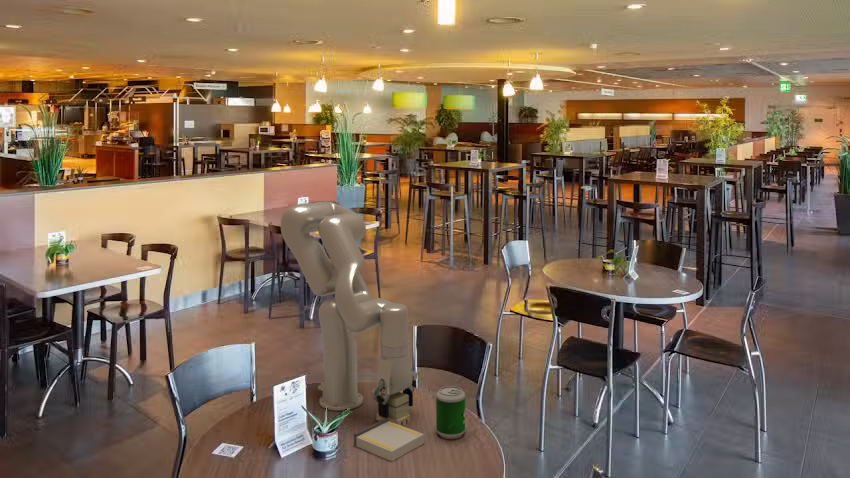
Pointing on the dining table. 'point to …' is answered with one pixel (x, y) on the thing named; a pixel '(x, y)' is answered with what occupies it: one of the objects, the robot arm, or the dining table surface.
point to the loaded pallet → (397, 409)
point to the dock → (388, 439)
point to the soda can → (450, 412)
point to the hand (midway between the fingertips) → (395, 410)
